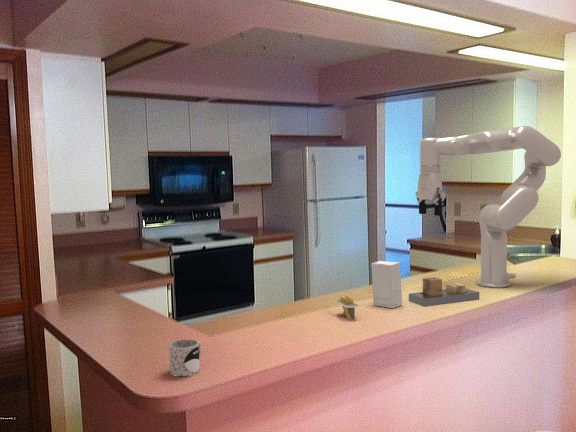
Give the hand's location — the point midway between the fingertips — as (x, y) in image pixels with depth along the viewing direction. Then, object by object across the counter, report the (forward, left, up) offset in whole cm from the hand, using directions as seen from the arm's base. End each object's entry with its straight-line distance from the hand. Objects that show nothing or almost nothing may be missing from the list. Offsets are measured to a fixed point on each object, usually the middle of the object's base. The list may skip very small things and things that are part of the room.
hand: (430, 214), depth 204 cm
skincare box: (+31, +18, -28) cm, 46 cm away
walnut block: (+14, +20, -28) cm, 37 cm away
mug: (+104, +49, -29) cm, 118 cm away
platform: (+50, +25, -29) cm, 63 cm away
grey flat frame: (+9, +20, -28) cm, 36 cm away
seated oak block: (+4, +20, -28) cm, 35 cm away
